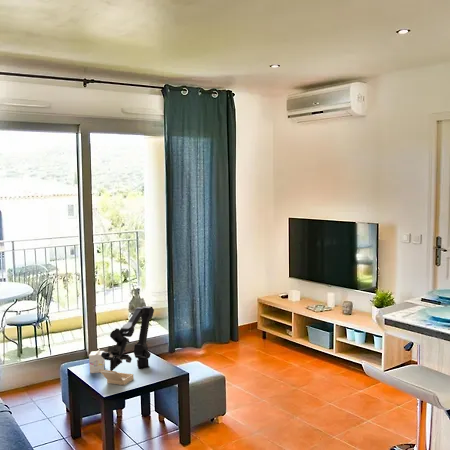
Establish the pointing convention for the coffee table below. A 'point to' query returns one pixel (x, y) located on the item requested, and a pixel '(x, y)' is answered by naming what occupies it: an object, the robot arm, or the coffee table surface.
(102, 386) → the coffee table surface
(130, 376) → the mailer
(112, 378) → the lid
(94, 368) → the ink box
